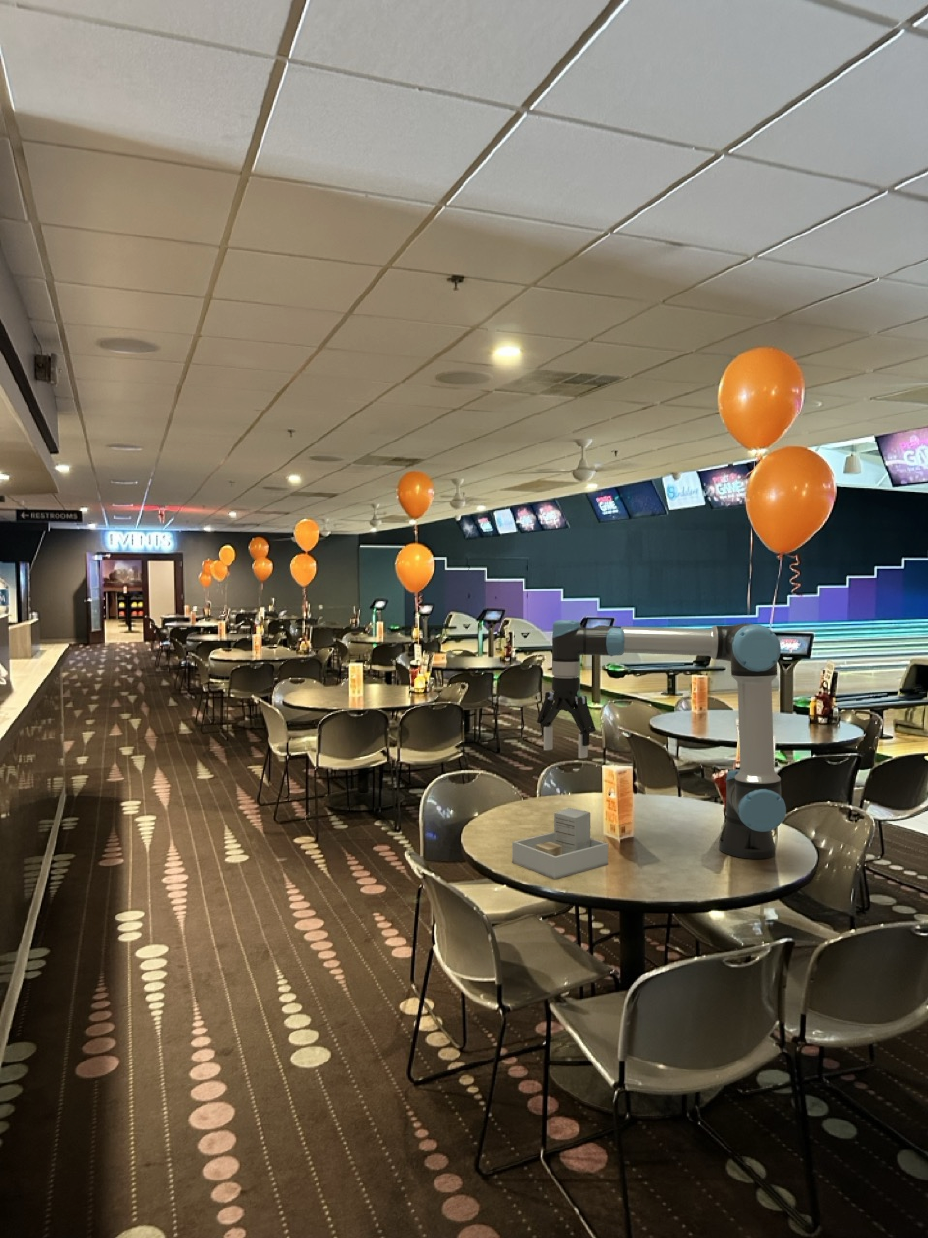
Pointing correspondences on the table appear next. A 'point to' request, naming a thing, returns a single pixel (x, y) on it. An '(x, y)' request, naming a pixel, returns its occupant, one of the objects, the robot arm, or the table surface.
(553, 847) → the maple block
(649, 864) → the table surface
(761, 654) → the robot arm
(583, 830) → the supplement box
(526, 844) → the tote
